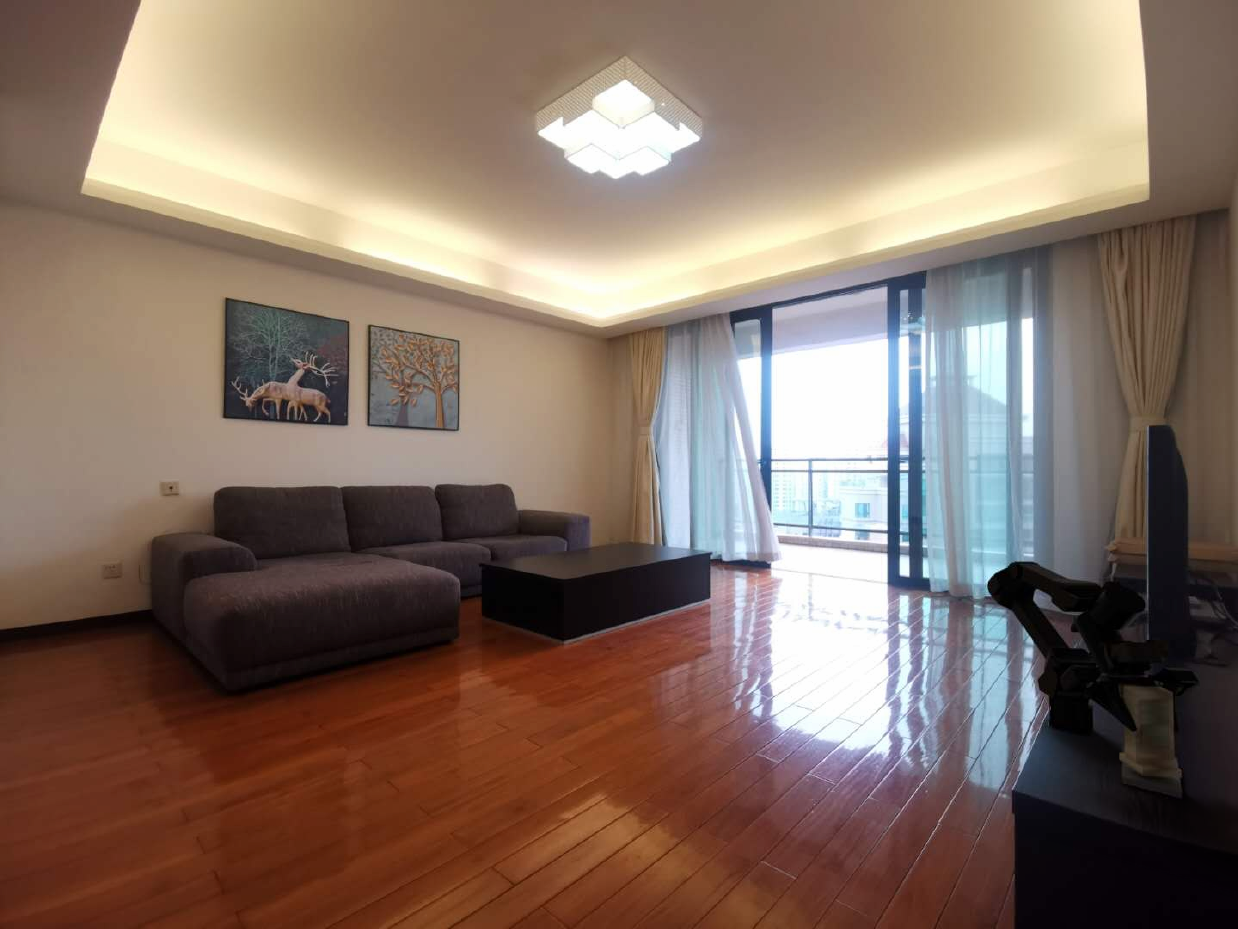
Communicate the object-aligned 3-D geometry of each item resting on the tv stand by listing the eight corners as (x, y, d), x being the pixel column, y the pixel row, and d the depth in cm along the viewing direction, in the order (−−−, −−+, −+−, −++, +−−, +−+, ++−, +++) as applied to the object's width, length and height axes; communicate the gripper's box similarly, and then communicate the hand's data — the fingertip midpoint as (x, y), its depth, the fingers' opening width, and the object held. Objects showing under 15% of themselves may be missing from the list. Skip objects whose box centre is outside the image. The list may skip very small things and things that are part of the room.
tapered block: (1142, 775, 91) (1140, 694, 91) (1119, 759, 96) (1117, 682, 96) (1181, 777, 90) (1179, 695, 91) (1156, 761, 95) (1154, 684, 95)
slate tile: (1122, 783, 92) (1121, 776, 92) (1122, 752, 103) (1122, 745, 103) (1182, 800, 88) (1182, 792, 88) (1176, 765, 98) (1176, 758, 98)
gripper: (1068, 618, 99) (1116, 708, 88) (1189, 621, 96) (1254, 714, 85) (1042, 650, 106) (1083, 736, 95) (1153, 653, 104) (1209, 742, 93)
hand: (1155, 731), depth 92 cm, fingers closed on tapered block, 6 cm apart
